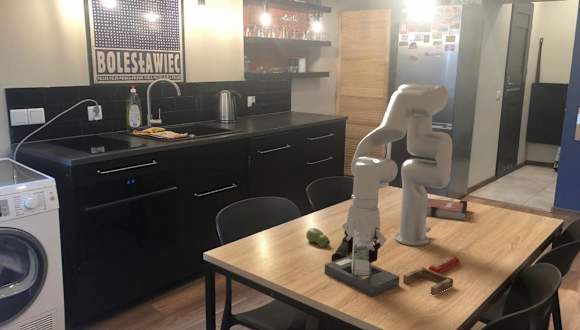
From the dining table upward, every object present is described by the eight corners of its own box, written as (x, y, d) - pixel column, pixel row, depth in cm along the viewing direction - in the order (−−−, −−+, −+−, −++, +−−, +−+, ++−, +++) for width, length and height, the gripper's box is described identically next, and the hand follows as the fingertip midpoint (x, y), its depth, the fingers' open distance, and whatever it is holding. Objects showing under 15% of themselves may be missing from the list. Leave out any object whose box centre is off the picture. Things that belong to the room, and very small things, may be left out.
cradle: (421, 274, 152) (422, 267, 151) (452, 286, 143) (453, 279, 143) (403, 282, 146) (403, 275, 145) (433, 296, 137) (434, 288, 137)
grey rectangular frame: (350, 263, 158) (350, 254, 158) (398, 285, 143) (399, 275, 143) (324, 273, 151) (324, 263, 150) (372, 297, 136) (373, 286, 135)
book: (403, 214, 215) (404, 203, 213) (409, 204, 230) (410, 194, 229) (464, 222, 205) (466, 211, 204) (466, 211, 221) (467, 201, 220)
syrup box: (369, 269, 149) (372, 225, 147) (371, 277, 143) (373, 231, 141) (351, 268, 149) (353, 224, 147) (352, 276, 144) (354, 230, 141)
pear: (314, 224, 180) (334, 235, 173) (312, 237, 181) (331, 248, 175) (304, 227, 176) (324, 239, 169) (302, 240, 178) (321, 252, 171)
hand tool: (342, 265, 157) (343, 252, 156) (331, 263, 159) (331, 250, 158) (355, 246, 175) (356, 234, 174) (345, 244, 176) (345, 233, 175)
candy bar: (436, 277, 150) (436, 268, 149) (425, 273, 153) (426, 265, 152) (461, 264, 161) (462, 256, 160) (451, 261, 163) (452, 252, 163)
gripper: (335, 197, 146) (333, 251, 150) (379, 211, 133) (375, 269, 137) (352, 193, 151) (349, 245, 155) (396, 207, 138) (392, 263, 141)
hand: (361, 256), depth 146 cm, fingers closed on syrup box, 8 cm apart
